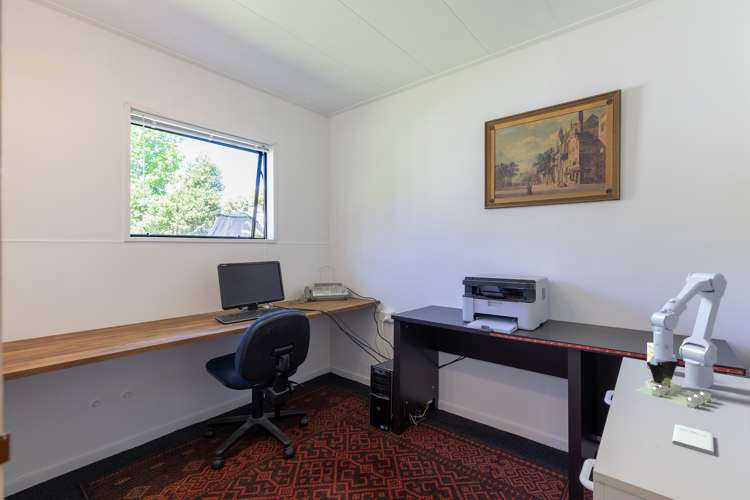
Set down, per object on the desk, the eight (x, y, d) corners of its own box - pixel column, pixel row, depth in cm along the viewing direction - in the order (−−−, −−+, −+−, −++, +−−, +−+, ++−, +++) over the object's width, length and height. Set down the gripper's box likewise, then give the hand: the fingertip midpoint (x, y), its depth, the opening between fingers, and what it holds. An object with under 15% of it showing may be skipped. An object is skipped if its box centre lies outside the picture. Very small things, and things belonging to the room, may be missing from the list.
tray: (655, 382, 138) (655, 377, 138) (681, 389, 131) (681, 384, 131) (645, 386, 134) (645, 381, 134) (670, 393, 127) (670, 388, 127)
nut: (658, 384, 135) (658, 373, 135) (673, 388, 131) (673, 377, 131) (653, 385, 133) (653, 375, 133) (667, 390, 129) (667, 379, 129)
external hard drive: (672, 445, 96) (675, 428, 105) (714, 458, 90) (713, 438, 99) (672, 439, 96) (675, 423, 105) (714, 451, 90) (713, 432, 99)
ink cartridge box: (646, 368, 156) (646, 335, 156) (658, 369, 155) (659, 336, 155) (657, 375, 148) (657, 340, 148) (671, 376, 147) (671, 341, 147)
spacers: (666, 388, 132) (666, 380, 132) (712, 401, 120) (712, 393, 120) (650, 394, 126) (650, 386, 126) (696, 409, 115) (696, 400, 114)
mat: (657, 384, 138) (657, 382, 138) (718, 401, 122) (718, 399, 122) (633, 392, 130) (633, 390, 130) (695, 412, 114) (695, 409, 114)
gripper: (666, 350, 125) (666, 388, 125) (685, 344, 132) (685, 381, 132) (643, 345, 132) (643, 381, 132) (663, 340, 138) (662, 375, 138)
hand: (662, 381), depth 132 cm, fingers open, 7 cm apart
